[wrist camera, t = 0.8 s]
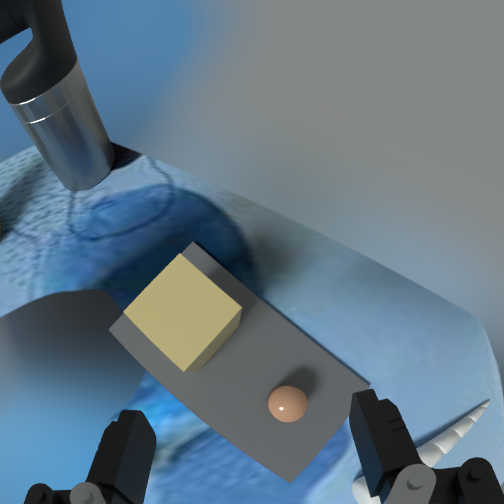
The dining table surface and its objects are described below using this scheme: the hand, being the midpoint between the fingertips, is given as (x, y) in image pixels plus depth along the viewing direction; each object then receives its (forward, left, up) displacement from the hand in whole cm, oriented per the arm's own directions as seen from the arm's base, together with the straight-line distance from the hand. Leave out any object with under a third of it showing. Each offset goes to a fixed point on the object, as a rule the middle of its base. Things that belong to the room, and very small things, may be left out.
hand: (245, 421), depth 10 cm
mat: (-1, +2, -21) cm, 21 cm away
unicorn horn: (+25, +7, -21) cm, 33 cm away
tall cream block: (-7, +2, -20) cm, 22 cm away
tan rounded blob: (+5, +2, -20) cm, 21 cm away
